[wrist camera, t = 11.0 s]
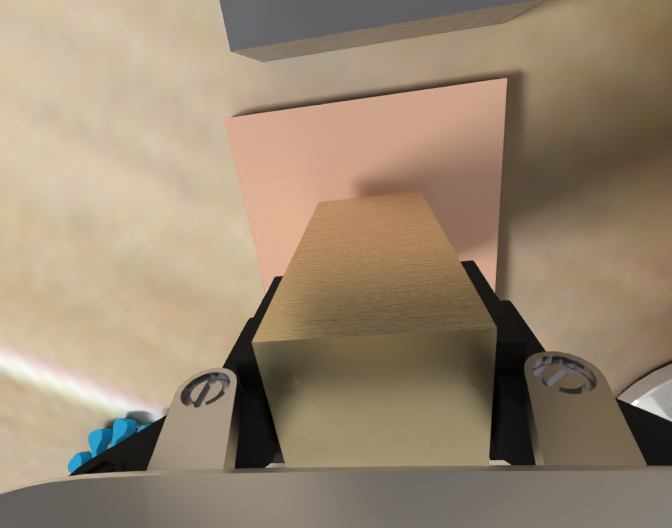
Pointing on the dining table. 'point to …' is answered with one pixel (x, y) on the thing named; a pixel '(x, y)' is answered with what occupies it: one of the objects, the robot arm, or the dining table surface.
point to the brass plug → (378, 343)
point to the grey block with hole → (350, 22)
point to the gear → (105, 440)
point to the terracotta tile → (376, 165)
